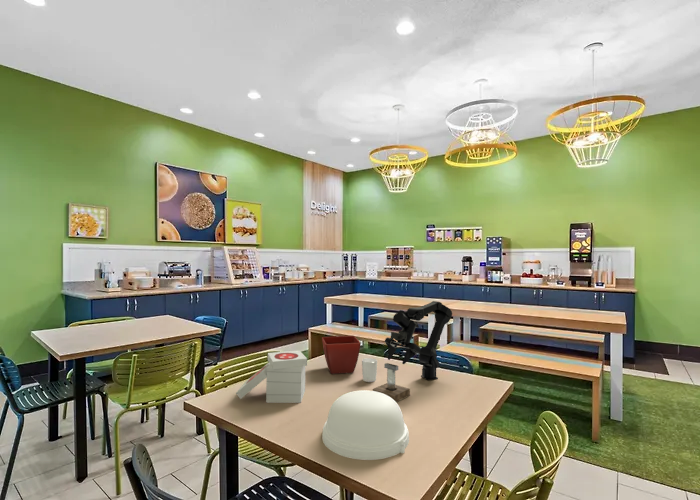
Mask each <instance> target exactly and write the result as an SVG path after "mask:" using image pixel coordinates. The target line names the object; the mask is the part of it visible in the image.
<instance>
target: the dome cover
mask: <svg viewBox="0 0 700 500" xmlns="http://www.w3.org/2000/svg"><path fill="white" fill-rule="evenodd" d="M321 437H322V442H323V444H324V446H325V447H326V448H327V449H328V450H330V451H331V452H333V453H335V454H336V455H338V456H341V457H344V458H348V459H349V458H350V459H353V460H363V461H375V460H382V459H387V458H391V457H393V456H396V455H398V454H405V449H406V448H407V447H408V445H409V443H410V434H409V429H408V426H407V424H406V423H405V420H404V415H403V412H402V410H401V407H400V405H399V404H398V403H397V402H395V400H393V399H392V398H391V397H389V396H387V395H385V394H383V393H380V392H376V391H373V390H366V389H365V390H364V389H362V390H354V391H353V390H352V391H350V392H347V393H344V394H342V395H340V396H339V397H338V398H337V399H335V400H334V402H333V403H332V404H331V406H330V409H329V412H328V416H327V419H326V421H325V422H324V424H323V428H322V435H321Z"/></svg>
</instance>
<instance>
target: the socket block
mask: <svg viewBox="0 0 700 500" xmlns="http://www.w3.org/2000/svg"><path fill="white" fill-rule="evenodd" d="M372 391H376V392H380V393H383V394H385V395H387V396H389V397H391V398H392V399H393V400H395V402H396V403H397V402H399V401H401V400H404V399H406V398H408V397H409V396H411V388H409V387H406V386H401V385H398V384H395V390H394V391H390V390H387V382H386V383H384V384H381V385H379V386H377V387H374V388H372Z"/></svg>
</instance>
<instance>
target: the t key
mask: <svg viewBox="0 0 700 500" xmlns="http://www.w3.org/2000/svg"><path fill="white" fill-rule="evenodd" d="M383 367H384V368H385V369H386V370H387V372H386V375H387V377H386V378H387V379H386V381H387V382H386V383H387V390H390V391H394V390H395V385H396V371H399V365H397V364H392V363H388V362H385V363H384V366H383Z"/></svg>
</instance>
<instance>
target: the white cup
mask: <svg viewBox="0 0 700 500" xmlns="http://www.w3.org/2000/svg"><path fill="white" fill-rule="evenodd" d="M361 372H362V373H361V374H362V381H364V382H367V383H372V382H376V381H377V374H378V373H377V372H378V359H376V358H373V357H372V358H371V357H365V358H362V359H361Z"/></svg>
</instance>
